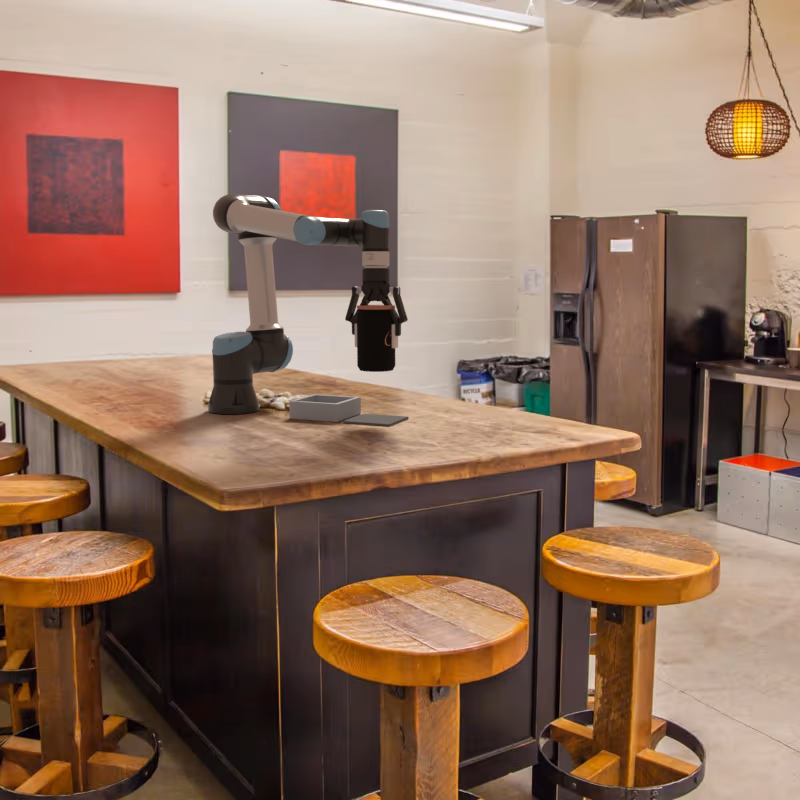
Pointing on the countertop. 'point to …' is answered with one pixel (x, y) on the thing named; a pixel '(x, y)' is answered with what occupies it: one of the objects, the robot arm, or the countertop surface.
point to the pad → (375, 419)
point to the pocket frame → (325, 407)
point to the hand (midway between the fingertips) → (376, 347)
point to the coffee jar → (375, 338)
